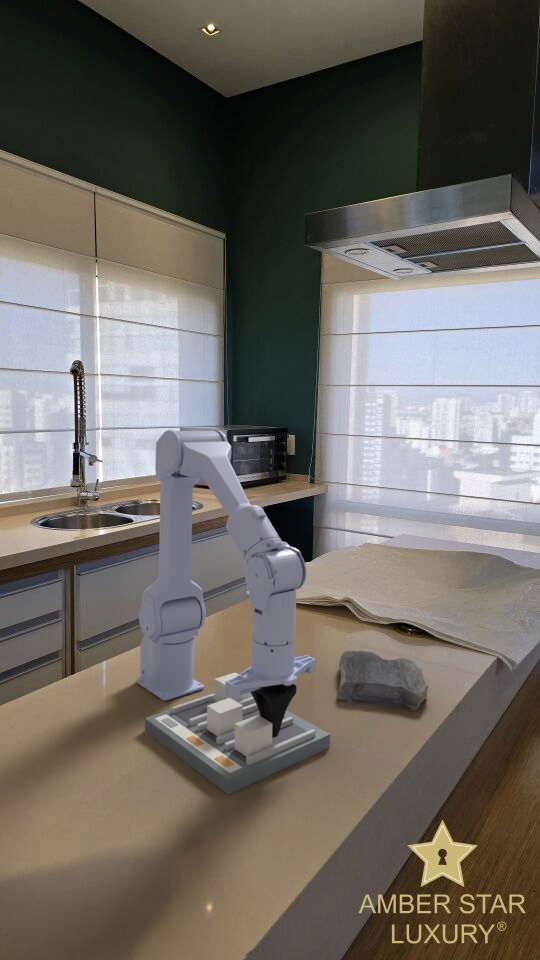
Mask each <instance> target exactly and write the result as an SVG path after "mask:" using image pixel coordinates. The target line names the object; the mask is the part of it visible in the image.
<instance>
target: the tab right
mask: <svg viewBox="0 0 540 960" xmlns="http://www.w3.org/2000/svg"><path fill="white" fill-rule="evenodd" d="M270 747H272V723H271V722H269V721H267V720H266V719H264V718H262V717H261V716H259V715H257V716H254V717H251V718H249V719H246V720H243V721H241V722H238V723H236V724H235V743H234V749H236V750H237V751H239V752H240V753H242V754H243V755H245V756H246V757H249V756H251V755H253V754H256V753H258V752H260V751H263V750H265V749H267V748H270Z"/></svg>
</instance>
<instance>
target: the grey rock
mask: <svg viewBox="0 0 540 960" xmlns="http://www.w3.org/2000/svg"><path fill="white" fill-rule="evenodd" d="M341 653H342V652H341ZM338 664H339V665H338V666H339V672H340V681H339V688H338V691H337V693H336V699H338V701H342V702H345V701H346V702H348V703H355V704H362V705H374V706H384V707H395V708H396V707H397V708H407V709H408V710H409V711H412V712H416V711H417V710H418V708H419V707H420V705H421V704H422V702H424V701H425V699H427V697H428V689H429V683H428V682H427V680H426V679H425V676H424V673H423V669H422V668H421V667H420V666H419V665H418V664H417V663H416V662H415V660H411V659H410V658H404V657H402V658H396V659H389V658H388V659H387V658H386V659H385V658H383V657H381V656H380V655H378V654H377V653H375V652H373V651H365V650H347V649H346V651H343V653H342V654H341V655H340V658H339V662H338Z"/></svg>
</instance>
